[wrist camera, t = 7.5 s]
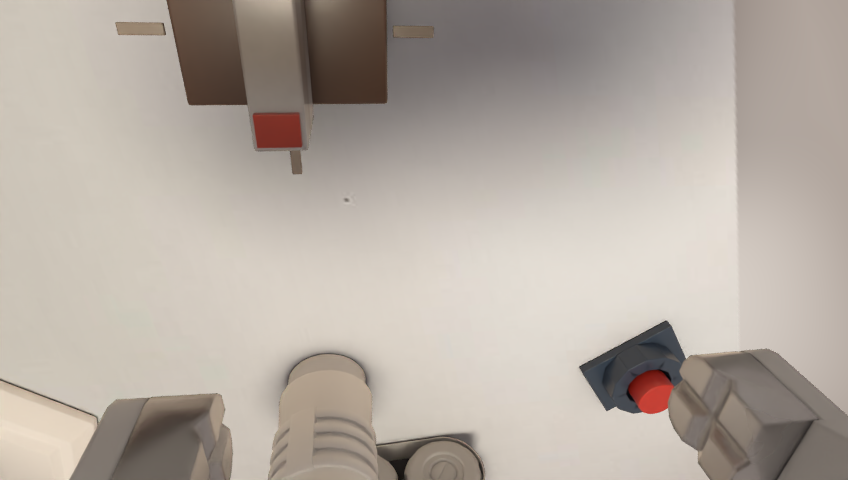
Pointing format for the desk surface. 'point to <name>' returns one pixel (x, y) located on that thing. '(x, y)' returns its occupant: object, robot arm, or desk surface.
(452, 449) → the toy tank
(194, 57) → the base
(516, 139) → the desk surface
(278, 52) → the tap handle
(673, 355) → the button housing
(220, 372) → the desk surface
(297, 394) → the beige grooved canister
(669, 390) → the button
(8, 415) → the white cartoon figure
